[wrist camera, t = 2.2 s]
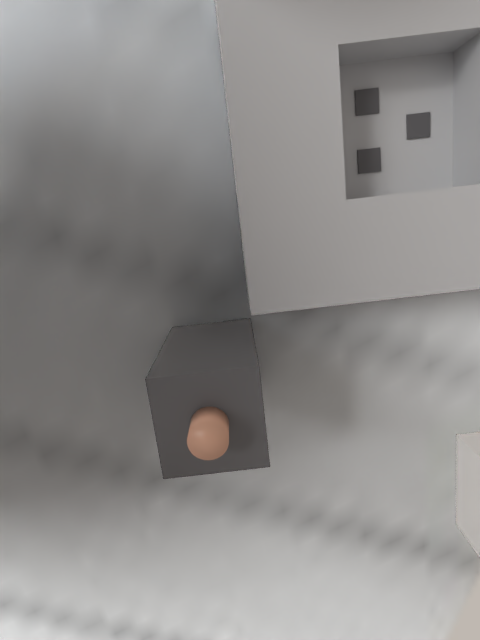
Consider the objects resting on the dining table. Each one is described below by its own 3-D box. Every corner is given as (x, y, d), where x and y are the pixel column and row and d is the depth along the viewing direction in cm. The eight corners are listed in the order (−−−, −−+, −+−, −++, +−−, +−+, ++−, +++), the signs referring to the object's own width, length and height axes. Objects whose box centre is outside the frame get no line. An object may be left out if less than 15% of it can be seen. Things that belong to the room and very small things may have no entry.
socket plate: (248, 299, 21) (251, 315, 18) (212, -25, 18) (207, -80, 15) (527, 266, 21) (583, 277, 18) (543, -65, 18) (616, -131, 14)
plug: (183, 399, 23) (157, 499, 15) (172, 327, 22) (137, 393, 14) (258, 390, 23) (273, 487, 15) (250, 318, 22) (261, 379, 14)
